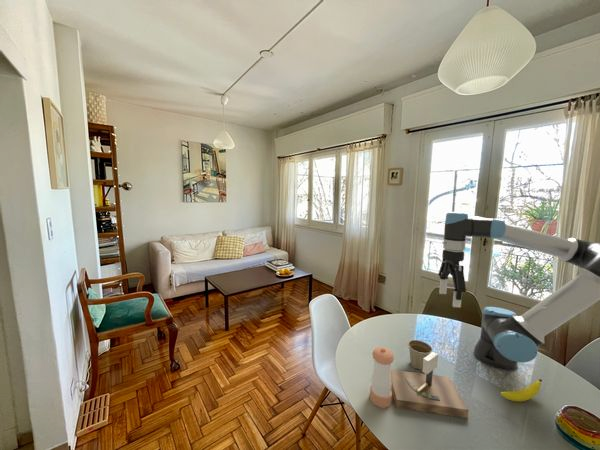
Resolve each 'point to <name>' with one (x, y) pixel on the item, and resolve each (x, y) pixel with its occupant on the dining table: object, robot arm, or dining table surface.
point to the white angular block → (429, 368)
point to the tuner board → (427, 394)
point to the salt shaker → (381, 377)
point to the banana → (523, 392)
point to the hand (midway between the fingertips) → (449, 299)
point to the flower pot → (418, 352)
